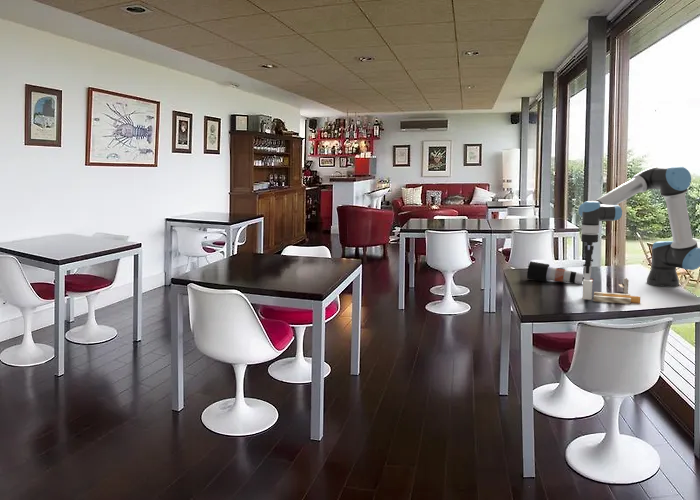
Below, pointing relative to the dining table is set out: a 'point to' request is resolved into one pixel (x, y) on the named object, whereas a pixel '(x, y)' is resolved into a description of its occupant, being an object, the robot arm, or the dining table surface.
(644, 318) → the dining table surface
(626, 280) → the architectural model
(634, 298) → the orange rod
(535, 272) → the black white tapered cylinder
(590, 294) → the white tall block
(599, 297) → the clip rails
